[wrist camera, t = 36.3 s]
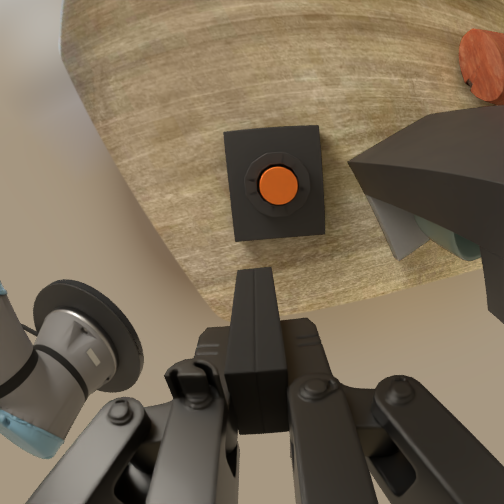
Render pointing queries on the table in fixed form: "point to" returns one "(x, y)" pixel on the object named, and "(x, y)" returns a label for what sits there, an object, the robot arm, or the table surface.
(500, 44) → the potted plant
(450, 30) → the table surface
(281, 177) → the button
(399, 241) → the coffee maker
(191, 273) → the table surface
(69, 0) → the table surface
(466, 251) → the cup
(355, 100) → the table surface
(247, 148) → the control pad
